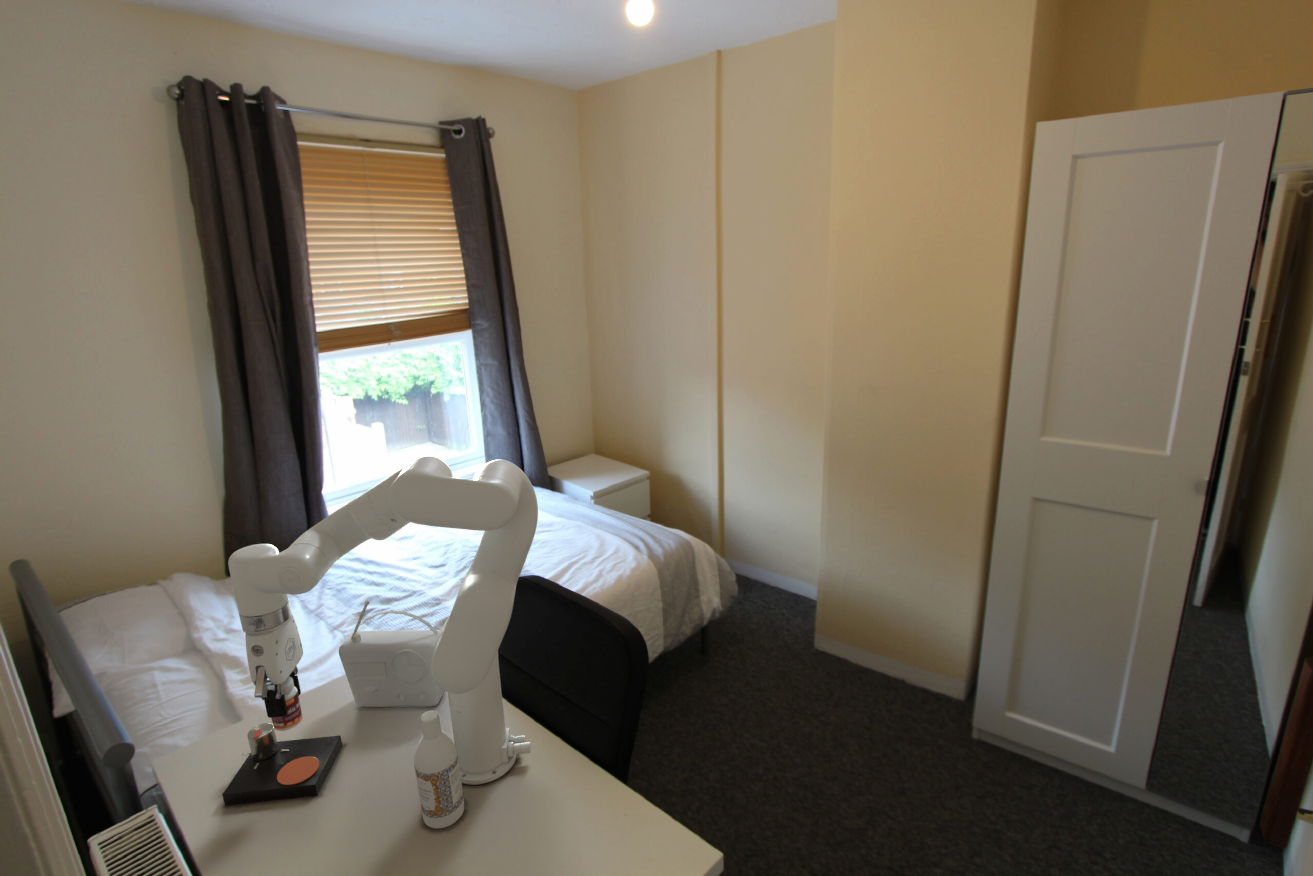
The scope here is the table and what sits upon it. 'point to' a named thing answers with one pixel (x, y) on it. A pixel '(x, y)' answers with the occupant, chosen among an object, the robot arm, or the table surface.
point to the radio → (391, 665)
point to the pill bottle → (288, 706)
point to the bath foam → (438, 774)
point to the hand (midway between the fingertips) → (284, 704)
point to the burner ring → (298, 770)
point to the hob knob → (262, 741)
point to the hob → (261, 776)
